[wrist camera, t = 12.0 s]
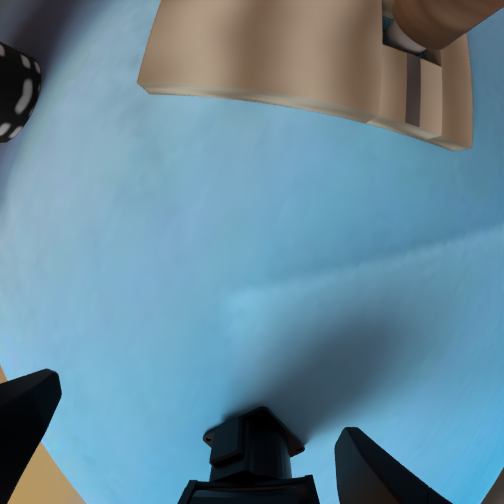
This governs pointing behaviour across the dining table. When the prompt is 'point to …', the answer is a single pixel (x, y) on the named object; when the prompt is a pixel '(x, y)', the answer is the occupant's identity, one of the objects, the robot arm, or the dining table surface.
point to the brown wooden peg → (434, 22)
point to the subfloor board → (311, 63)
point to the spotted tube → (16, 90)
